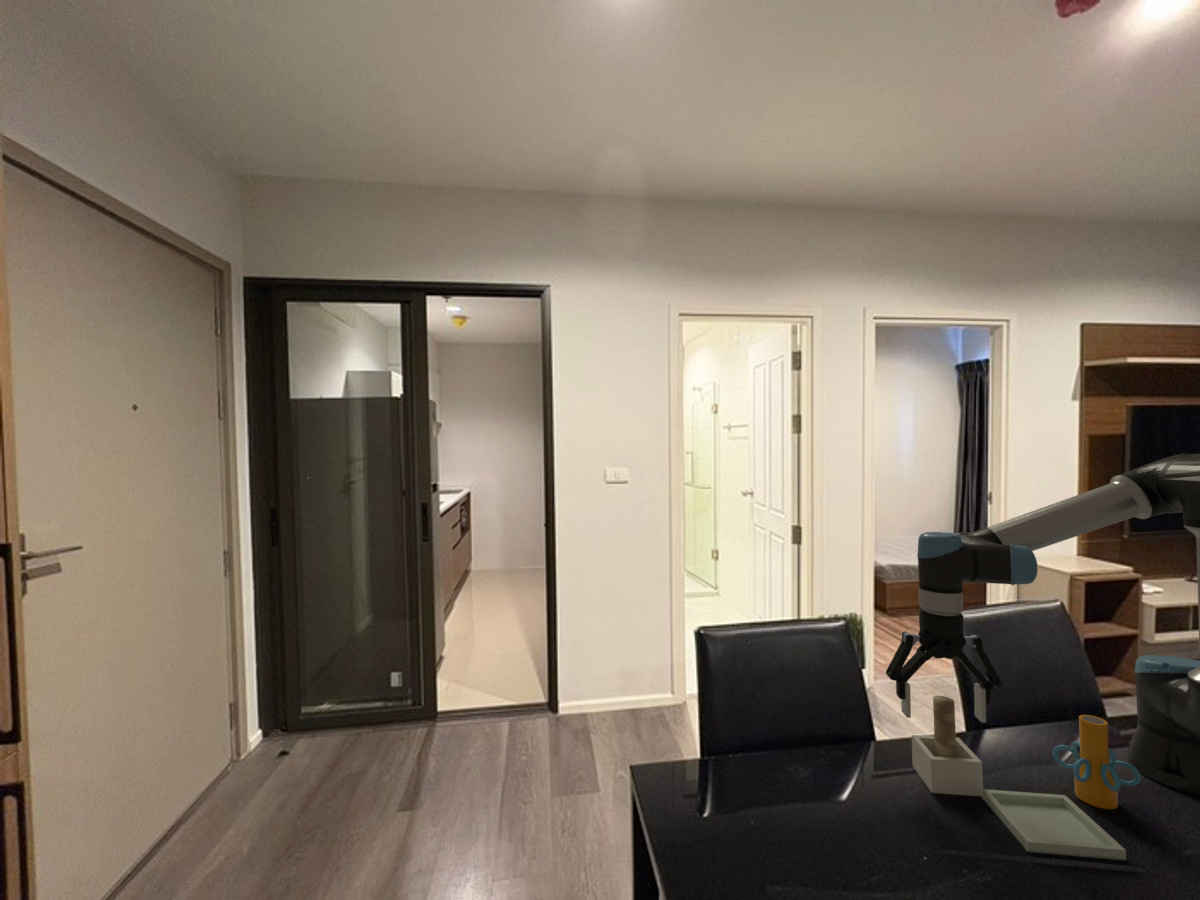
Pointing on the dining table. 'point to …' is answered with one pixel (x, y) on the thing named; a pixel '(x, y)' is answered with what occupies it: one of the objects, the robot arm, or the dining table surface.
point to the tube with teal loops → (1095, 765)
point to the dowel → (944, 727)
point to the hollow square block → (947, 768)
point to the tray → (1052, 825)
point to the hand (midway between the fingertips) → (942, 717)
